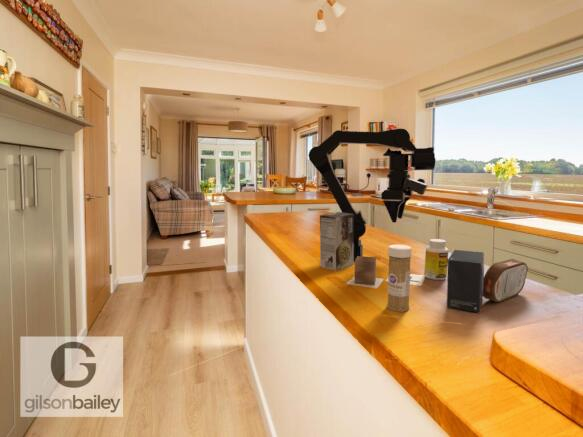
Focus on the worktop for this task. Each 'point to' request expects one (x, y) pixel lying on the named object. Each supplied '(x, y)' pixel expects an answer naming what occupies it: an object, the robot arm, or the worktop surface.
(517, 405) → the worktop surface
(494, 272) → the tin
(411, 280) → the label tile
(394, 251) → the sprinkles bottle
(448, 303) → the small box
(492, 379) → the worktop surface
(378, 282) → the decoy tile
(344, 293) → the worktop surface
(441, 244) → the supplement bottle
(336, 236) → the coffee box
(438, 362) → the worktop surface
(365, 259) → the walnut block
